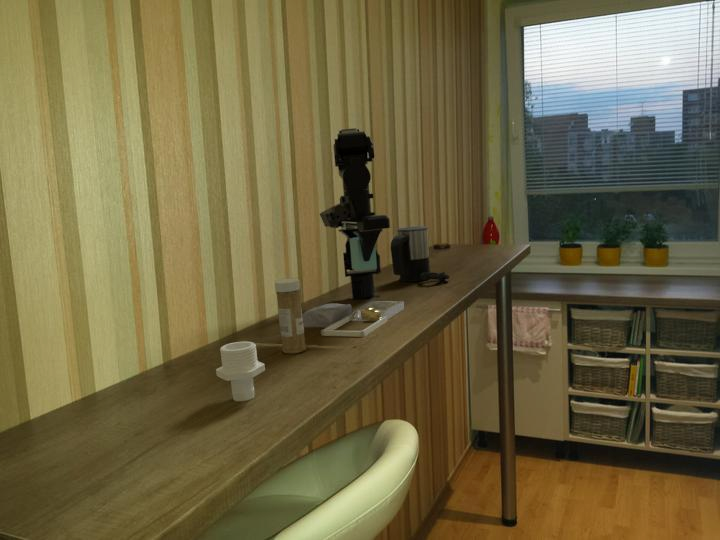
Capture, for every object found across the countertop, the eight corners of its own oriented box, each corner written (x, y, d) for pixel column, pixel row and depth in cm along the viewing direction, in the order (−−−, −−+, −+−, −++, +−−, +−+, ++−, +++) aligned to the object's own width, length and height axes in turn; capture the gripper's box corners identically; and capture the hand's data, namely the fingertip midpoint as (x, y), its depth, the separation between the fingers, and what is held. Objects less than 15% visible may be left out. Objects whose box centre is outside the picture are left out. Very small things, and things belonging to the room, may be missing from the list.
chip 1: (364, 314, 144) (363, 306, 144) (377, 315, 143) (376, 306, 143) (359, 318, 141) (358, 309, 141) (371, 318, 140) (371, 310, 140)
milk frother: (405, 276, 193) (401, 226, 191) (457, 275, 187) (454, 224, 185) (389, 286, 180) (385, 232, 178) (445, 285, 174) (441, 229, 172)
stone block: (294, 338, 139) (335, 330, 135) (288, 316, 138) (329, 307, 134) (318, 326, 149) (357, 318, 146) (312, 306, 149) (351, 297, 145)
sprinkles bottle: (310, 350, 120) (303, 279, 118) (287, 356, 118) (279, 283, 116) (300, 346, 124) (293, 276, 122) (278, 350, 122) (270, 280, 120)
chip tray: (347, 322, 140) (347, 316, 140) (387, 323, 137) (386, 316, 136) (321, 337, 129) (320, 330, 129) (363, 339, 125) (363, 331, 125)
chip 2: (370, 317, 141) (369, 309, 141) (383, 317, 140) (382, 309, 140) (365, 320, 138) (364, 312, 138) (378, 320, 137) (377, 312, 137)
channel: (371, 309, 151) (370, 301, 150) (404, 310, 147) (403, 301, 147) (349, 322, 140) (348, 313, 140) (384, 323, 137) (383, 313, 136)
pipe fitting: (234, 409, 93) (228, 355, 92) (214, 397, 99) (208, 346, 98) (274, 397, 97) (268, 345, 95) (252, 386, 102) (246, 337, 101)
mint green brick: (352, 269, 147) (349, 238, 146) (368, 266, 149) (366, 236, 148) (359, 271, 143) (357, 239, 142) (376, 268, 145) (374, 237, 144)
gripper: (307, 193, 149) (313, 261, 151) (339, 193, 132) (346, 269, 134) (351, 189, 153) (357, 255, 155) (388, 188, 136) (394, 262, 139)
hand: (362, 260), depth 146 cm, fingers closed on mint green brick, 4 cm apart
